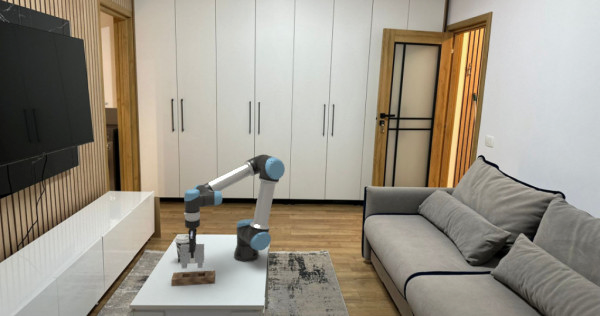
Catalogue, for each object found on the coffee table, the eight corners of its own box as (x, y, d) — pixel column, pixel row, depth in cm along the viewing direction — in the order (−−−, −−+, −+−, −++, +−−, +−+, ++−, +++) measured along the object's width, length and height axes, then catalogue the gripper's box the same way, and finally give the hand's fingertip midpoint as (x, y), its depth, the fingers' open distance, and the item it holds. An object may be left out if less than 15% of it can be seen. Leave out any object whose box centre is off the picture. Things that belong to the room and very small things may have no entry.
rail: (215, 276, 220) (215, 270, 220) (214, 283, 213) (214, 277, 212) (173, 278, 217) (173, 272, 216) (171, 285, 209) (171, 279, 208)
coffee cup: (187, 265, 233) (187, 240, 230) (172, 263, 235) (171, 239, 232) (195, 258, 242) (194, 234, 239) (180, 256, 244) (179, 233, 241)
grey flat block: (204, 264, 216) (204, 243, 214) (203, 268, 212) (203, 246, 210) (181, 265, 214) (180, 244, 212) (180, 269, 210) (180, 247, 208)
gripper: (186, 214, 216) (187, 254, 220) (183, 224, 199) (183, 268, 204) (200, 213, 217) (201, 254, 221) (198, 224, 201) (198, 268, 205)
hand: (192, 261), depth 212 cm, fingers closed on grey flat block, 4 cm apart
